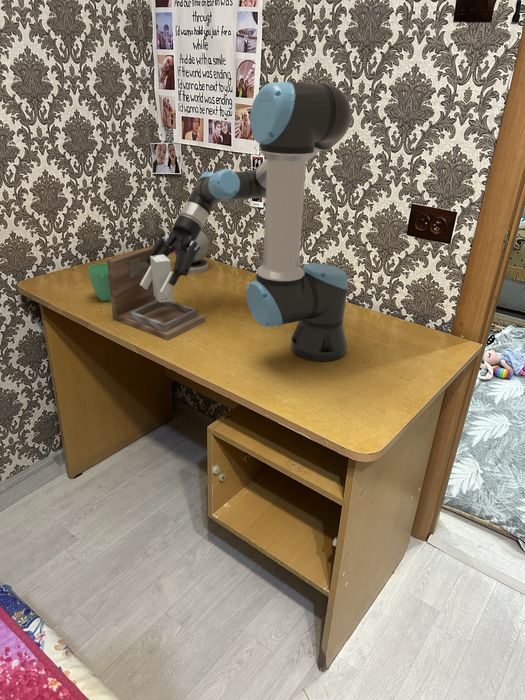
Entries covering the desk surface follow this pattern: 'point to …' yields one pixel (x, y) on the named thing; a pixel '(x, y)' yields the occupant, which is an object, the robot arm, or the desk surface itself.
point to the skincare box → (160, 276)
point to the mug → (100, 280)
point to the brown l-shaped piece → (145, 300)
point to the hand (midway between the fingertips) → (153, 290)
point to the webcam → (200, 255)
